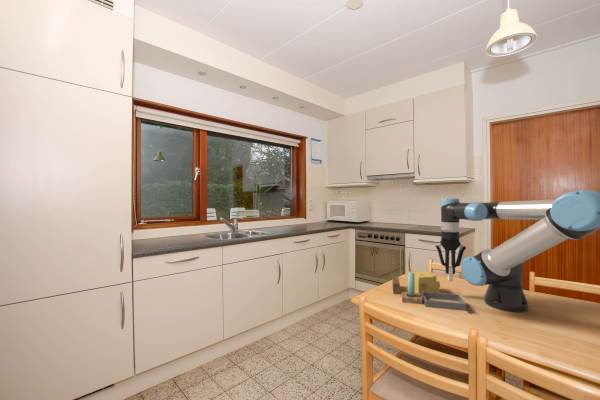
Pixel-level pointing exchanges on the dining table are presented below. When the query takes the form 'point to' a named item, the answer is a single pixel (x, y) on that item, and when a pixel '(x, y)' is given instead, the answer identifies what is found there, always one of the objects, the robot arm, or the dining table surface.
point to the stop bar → (396, 285)
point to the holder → (411, 298)
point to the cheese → (426, 282)
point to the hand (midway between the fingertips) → (450, 280)
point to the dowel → (411, 285)
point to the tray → (444, 305)
